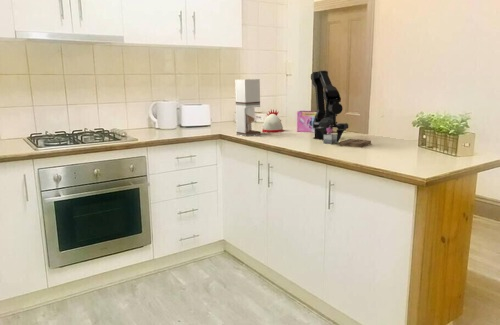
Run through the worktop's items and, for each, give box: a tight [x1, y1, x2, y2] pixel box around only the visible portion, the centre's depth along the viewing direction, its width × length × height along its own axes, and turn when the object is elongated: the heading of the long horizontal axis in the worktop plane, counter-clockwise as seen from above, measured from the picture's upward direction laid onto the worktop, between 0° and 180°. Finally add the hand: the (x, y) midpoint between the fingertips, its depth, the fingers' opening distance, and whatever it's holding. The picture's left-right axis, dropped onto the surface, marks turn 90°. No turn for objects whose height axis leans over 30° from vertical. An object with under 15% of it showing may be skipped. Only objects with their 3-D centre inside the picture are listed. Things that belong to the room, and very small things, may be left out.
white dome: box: [262, 109, 284, 134], centre depth 279 cm, size 14×14×15 cm
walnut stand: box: [339, 138, 372, 148], centre depth 219 cm, size 12×12×2 cm
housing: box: [322, 132, 338, 145], centre depth 226 cm, size 5×6×5 cm
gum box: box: [296, 110, 334, 134], centre depth 271 cm, size 24×8×14 cm, turn 60°
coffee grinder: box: [234, 78, 262, 137], centre depth 262 cm, size 11×11×35 cm
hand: (330, 141), depth 227 cm, fingers open, 9 cm apart
